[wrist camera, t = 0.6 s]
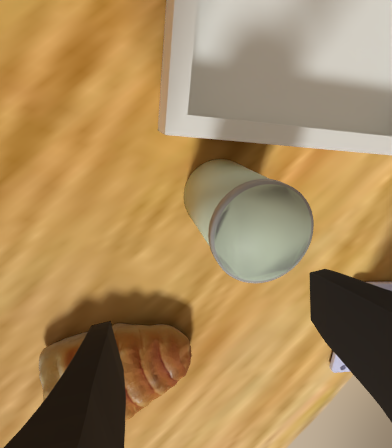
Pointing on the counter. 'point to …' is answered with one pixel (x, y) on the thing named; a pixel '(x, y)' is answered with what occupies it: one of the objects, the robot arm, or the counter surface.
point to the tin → (248, 220)
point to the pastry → (129, 361)
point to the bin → (279, 72)
